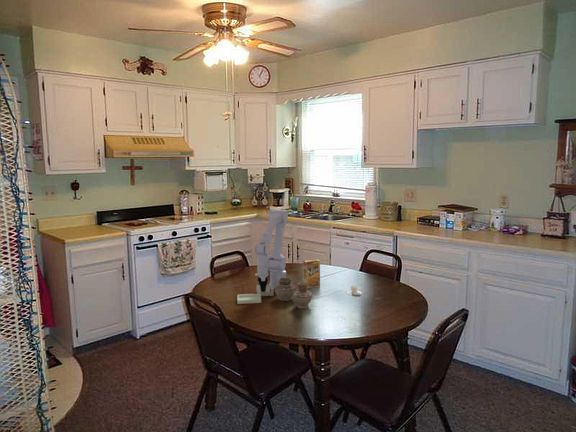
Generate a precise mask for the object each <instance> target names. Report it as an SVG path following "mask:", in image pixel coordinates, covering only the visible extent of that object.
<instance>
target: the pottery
mask: <svg viewBox="0 0 576 432" xmlns="http://www.w3.org/2000/svg"><path fill="white" fill-rule="evenodd" d="M291 281H292V279H291V278H290V277H286V278H280V279H279V284H278V285H276V286H275V287H274V294H276V296H278V297H279V301H283V302H286V301H287V302H288V301H290V300H291V299H292V297H293V300H294V302H295V303H296V304H297V305H296V306H297V307H296V308H298V309H307V308H309V304H310V303H311V302H312V300H313V299H312V298H313V293H312V291H310V290H308V288H307V285H308V283H306V282H304V281H301V282H300V281H299V282H297V286H295V285H294V284H292V283H291ZM296 288H298V289H297V290H296Z"/></svg>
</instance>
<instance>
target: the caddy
mask: <svg viewBox="0 0 576 432" xmlns="http://www.w3.org/2000/svg"><path fill="white" fill-rule="evenodd" d="M255 287H256V294H257V293H261V288H260V284H259V282H258V281H256V284H255ZM265 292H270V280H268V282H267V285H266V291H265Z"/></svg>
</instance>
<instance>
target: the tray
mask: <svg viewBox="0 0 576 432" xmlns="http://www.w3.org/2000/svg"><path fill="white" fill-rule="evenodd" d="M236 303H237V305H242V304H244V305H245V304H260V303H261V304H262V296H261V294H257V293H245V294H241V293H240V294H237V299H236Z"/></svg>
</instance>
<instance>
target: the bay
mask: <svg viewBox="0 0 576 432" xmlns="http://www.w3.org/2000/svg"><path fill="white" fill-rule="evenodd" d="M256 294H261V297H268V296H269V297H273V296H274V295H275V290H274V288H273V285H270V292H261V293H257V292H256Z"/></svg>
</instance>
